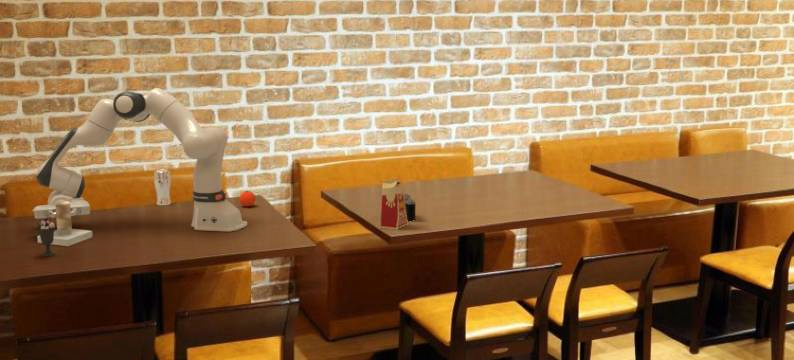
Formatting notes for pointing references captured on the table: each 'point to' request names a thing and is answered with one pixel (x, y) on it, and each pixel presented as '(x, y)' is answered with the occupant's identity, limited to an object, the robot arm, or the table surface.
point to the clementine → (247, 198)
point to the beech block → (63, 215)
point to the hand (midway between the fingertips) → (63, 214)
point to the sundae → (47, 234)
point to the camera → (409, 207)
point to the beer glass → (162, 186)
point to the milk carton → (393, 205)
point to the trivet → (69, 237)
